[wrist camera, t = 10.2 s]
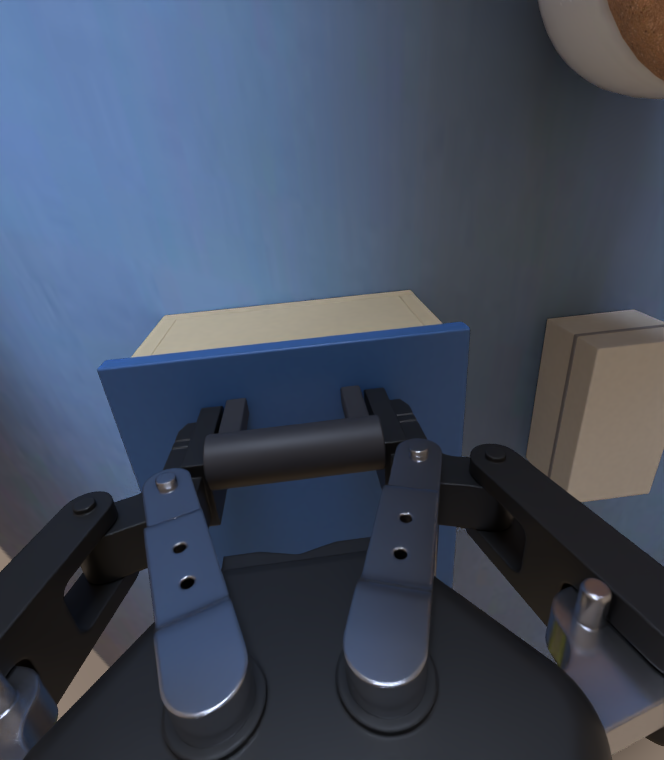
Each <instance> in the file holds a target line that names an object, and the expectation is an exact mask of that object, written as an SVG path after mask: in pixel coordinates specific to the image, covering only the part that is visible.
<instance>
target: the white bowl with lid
mask: <svg viewBox="0 0 664 760" xmlns="http://www.w3.org/2000/svg"><path fill="white" fill-rule="evenodd" d="M538 3H539V9H540V13H541V16H542V19H543V22H544V26H545V29H546V32H547V34H548V36H549V38H550V40H551V42H552V44H553V46H554V47H555V49H556V51H557V52H558V54H559V55H560V56H561V58H562V59H563V60H564V61H565V63H566V64H567V65H568V66H569V67H570V68H571V69H572V70H574V71H575V72H576V73H577V74H578V75H580V76H581V77H582V78H584V79H585V80H586V81H588V82H590V83H592V84H594V85H595V86H597V87H599V88H601V89H603V90H606V91H609V92H613V93H617V94H620V95H625V96H629V97H634V98H646V99H664V0H538Z"/></svg>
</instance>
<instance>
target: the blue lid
mask: <svg viewBox="0 0 664 760" xmlns="http://www.w3.org/2000/svg"><path fill="white" fill-rule="evenodd" d="M469 341H470V328H469V327H468V326H467V325H466V324H464V323H463V322H454V323H445V324H436V325H426V326H417V327H408V328H399V329H390V330H381V331H371V332H362V333H353V334H344V335H335V336H325V337H316V338H307V339H298V340H289V341H279V342H270V343H261V344H252V345H243V346H233V347H224V348H215V349H206V350H197V351H187V352H178V353H169V354H160V355H151V356H141V357H132V358H123V359H114V360H106V361H104V362H103V364H102V365H101V366H100V367H99V368H98V369H97V372H98V374H99V377H100V380H101V383H102V385H103V388H104V391H105V394H106V396H107V399H108V402H109V405H110V407H111V410H112V413H113V416H114V419H115V421H116V424H117V427H118V430H119V432H120V435H121V438H122V441H123V443H124V446H125V449H126V452H127V455H128V457H129V460H130V463H131V466H132V468H133V471H134V474H135V477H136V479H137V482H138V485H139V488H140V491H141V493H142V487H143V484H144V483H145V481H146V480H147V479H148V478H150V477H151V476H152V475H154V474H156V473H158V472H160V471H162V470H163V468H164V466H165V464H166V461H167V459H168V456H169V454H170V452H171V450H172V447H173V444H174V443H175V439H176V437H177V435H178V432H179V431H180V430H181V429H182V428H183V427H184V426H185V425H187V424H188V423H195V422H197V419H198V416H199V413H200V411H201V409H202V408H207V407H216V406H223V407H224V413H223V417H222V420H221V424H220V428H219V432H218V433H217V434H209V435H207V436H206V438H205V441H204V445H203V468H204V474H205V479H206V482H207V485H208V487H209V488H210V490H222V489H227V493H226V499H225V504H224V510H223V515H222V520H221V525H218V526H210V527H209V533H210V536H211V539H212V542H213V545H214V548H215V552H216V555H217V558H218V561H219V564H220V567H221V569H222V564H223V558H224V556H231V555H239V554H246V553H254V552H272V553H285V554H301V553H304V552H307V551H310V550H313V549H316V548H318V547H321V546H324V545H327V544H330V543H333V542H336V541H343V540H351V539H358V538H366V537H371V534H372V530H373V525H374V521H375V517H376V513H377V509H378V505H379V500H380V496H381V492H382V489H381V486H380V482H379V479H378V476H377V472H376V470H383V469H385V466H386V448H385V440H384V434H383V429H382V425H381V421H380V419H379V417H378V415H369V413H368V410H367V407H366V404H365V401H364V395H363V393H364V390H366V389H374V388H384V389H385V391H386V393H387V395H388V397H389V399H390V400H394V399H401V400H402V401H404V402H405V403H407V404H408V405H409V406H410V408H411V410H412V412H413V414H414V415H415V417H416V419H417V421H418V423H419V425H420V427H421V428H422V430H423V432H424V434H425V436H426V438H427V440H430V441H432V442H435V443H436V444H437V445H439V446H440V448H441V450H442V453H443V454H446V455H450V456H457V457H461V456H462V441H463V427H464V413H465V398H466V384H467V369H468V355H469ZM456 528H457V527H453V526H445V525H439V538H438V554H437V571H436V578H438V579H439V580H440V581H442V582H443V583H445V584H446V585H447V586H449V587H450V588H452V585H453V571H454V556H455V542H456Z"/></svg>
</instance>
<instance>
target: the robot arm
mask: <svg viewBox="0 0 664 760" xmlns="http://www.w3.org/2000/svg"><path fill="white" fill-rule="evenodd" d="M363 395H364V401H365V404H366V407H367V410H368V413H369V415H378V417H379V419H380V421H381V425H382V429H383V434H384V440H385V448H386V466H385V469H383V470H376V472H377V476H378V479H379V482H380V486H381V489H382V492H381V496H380V500H379V505H378V509H377V513H376V517H375V521H374V525H373V530H372V534H371V537H366V538H358V539H351V540H343V541H336V542H333V543H330V544H327V545H324V546H321V547H318V548H316V549H313V550H310V551H307V552H304V553H301V554H285V553H272V552H254V553H246V554H239V555H231V556H224V558H223V564H222V569H221V567H220V564H219V561H218V558H217V555H216V552H215V548H214V545H213V542H212V539H211V536H210V533H209V527H210V526H218V525H221V520H222V515H223V510H224V504H225V499H226V493H227V489H222V490H210V488H209V487H208V485H207V482H206V479H205V474H204V468H203V445H204V441H205V438H206V436H207V435H209V434H217V433H218V432H219V428H220V424H221V420H222V417H223V413H224V407H223V406H216V407H207V408H202V409H201V411H200V413H199V416H198V419H197V422H195V423H188V424H187V425H185V426H184V427H183V428H182V429H181V430H180V431H179V432H178V435H177V437H176V439H175V443H174V444H173V447H172V450H171V452H170V454H169V456H168V459H167V461H166V464H165V466H164V468H163V470H162V471H160V472H158V473H156V474H154V475H152V476H151V477H150V478H148V479H147V480H146V481H145V483H144V484H143V487H142V493H140V494H138V495H135V496H133V497H130V498H127V499H124V500H121V501H118V502H114V501H113V498H112V496H111V495H110V494H109V493H107V492H101V491H99V492H91V493H87V494H84V495H82V496H79V497H77V498H75V499H74V500H72V501H70V502H69V503H68V504H66V505H65V506H64V507H63V508H62V509H61V510H60V511H59V512H58V513H57V514H56V515H55V516H54V517H53V518H52V519H51V520H50V521H49V523H48V524H47V525H46V526H45V527H44V528H43V529H42V530H41V531H40V532H39V533H38V534H37V535H36V536H35V537H34V538H33V539H32V540H31V541H30V542H29V543H28V544H27V545H26V546H25V547H24V548H23V549H22V550H21V551H20V552H19V553H18V554H17V555H16V556H15V557H14V558H13V559H12V561H11V562H10V563H9V564H8V565H7V566H6V567H5V568H4V569H3V570H2V571H1V572H0V760H612V755H614V754H615V753H617V752H619V751H621V750H623V749H624V748H626V747H628V746H630V745H632V744H633V743H635V742H637V741H639V740H641V739H642V738H644V737H646V738H647V739H649V740H650V741H652V742H654V743H656V744H659V745H661V746H664V567H663V566H662V565H661V564H660V563H658V562H657V561H656V560H654V559H653V558H652V557H650V556H649V555H648V554H647V553H645V552H644V551H643V550H641V549H640V548H639V547H638V546H636V545H635V544H634V543H632V542H631V541H630V540H629V539H627V538H626V537H625V536H623V535H622V534H621V533H620V532H618V531H617V530H616V529H614V528H613V527H612V526H611V525H609V524H608V523H607V522H605V521H604V520H603V519H602V518H600V517H599V516H598V515H596V514H595V513H594V512H593V511H591V510H590V509H589V508H587V507H586V506H585V505H583V504H582V503H581V502H580V501H578V500H577V499H576V498H574V497H573V496H572V495H571V494H569V493H568V492H567V491H565V490H564V489H563V488H562V487H560V486H559V485H558V484H556V483H555V482H554V481H553V480H551V479H550V478H549V477H547V476H546V475H545V474H544V473H542V472H541V471H540V470H538V469H537V468H536V467H535V466H533V465H532V464H531V463H529V462H528V461H527V460H525V459H524V458H523V457H522V456H520V455H519V454H518V453H516V452H515V451H514V450H512V449H510V448H508V447H506V446H503V445H498V444H483V445H479V446H477V447H475V448H474V449H473V450H472V451H471V454H470V458H469V457H457V456H450V455H446V454H443V453H442V450H441V448H440V446H439V445H437V444H436V443H435V442H432V441H430V440H427V438H426V436H425V434H424V432H423V430H422V428H421V427H420V425H419V423H418V421H417V419H416V417H415V415H414V414H413V412H412V410H411V408H410V406H409V405H408V404H407V403H405V402H404V401H402V400H401V399H394V400H390V399H389V397H388V395H387V393H386V391H385V389H384V388H374V389H366V390H364V393H363ZM439 525H445V526H453V527H461V528H466V531H467V533H468V534H469V535H470V537H471V538H472V539H473V540H474V541H475V543H476V544H477V545H478V546H479V547H480V548H481V550H482V551H483V552H484V553H485V554H486V555H487V557H488V558H489V559H490V560H491V561H492V563H493V564H494V565H495V566H496V567H497V568H498V570H499V571H500V572H501V573H502V574H503V575H504V577H505V578H506V579H507V580H508V581H509V583H510V584H511V585H512V586H513V587H514V588H515V590H516V591H517V592H518V593H519V594H520V595H521V597H522V598H523V599H524V600H525V601H526V603H527V604H528V605H529V606H530V607H531V608H532V610H533V611H534V612H535V613H536V614H537V615H538V617H539V618H540V619H541V620H542V621H543V623H544V624H545V625H546V626H547V629H546V636H545V638H546V644H547V647H548V650H549V652H550V653H551V655H552V657H553V658H554V660H555V661H556V663H557V665H556V664H555V663H554V662H552V661H551V660H550V659H548V658H547V657H545V656H544V655H543V654H541V653H540V652H539V651H537V650H536V649H534V648H533V647H532V646H530V645H529V644H528V643H526V642H525V641H523V640H522V639H521V638H519V637H518V636H516V635H515V634H514V633H512V632H511V631H510V630H508V629H507V628H505V627H504V626H503V625H501V624H500V623H498V622H497V621H496V620H494V619H493V618H492V617H490V616H489V615H487V614H486V613H485V612H483V611H482V610H481V609H479V608H478V607H476V606H475V605H474V604H472V603H471V602H469V601H468V600H467V599H465V598H464V597H463V596H461V595H460V594H458V593H457V592H456V591H454V590H453V589H452V588H450V587H449V586H447V585H446V584H445V583H443V582H442V581H440V580H439V579H438V578H436V571H437V554H438V538H439ZM80 566H81V568H82V571H83V573H82V575H81V576H80V577H79V578H78V580H77V581H76V582H75V584H74V585H73V586H72V588H71V589H70V590H69V591H68V593H67V594H66V595H65V597H64V590H65V587H66V585H67V583H68V581H69V579H70V578H71V577H72V576H73V574H74V573H75V572H76V571H77V569H78V568H79V567H80ZM146 568H148V573H149V581H150V589H151V598H152V606H153V614H154V623H153V624H152V625H151V626H150V627H149V628H148V629H147V630H146V631H145V632H144V633H143V634H142V635H141V636H140V637H139V638H138V639H137V640H136V641H135V642H134V643H133V644H132V645H131V646H130V647H129V649H128V650H127V651H126V652H125V653H124V654H123V655H122V656H121V657H120V658H119V659H118V660H117V661H116V662H115V663H114V664H113V665H112V666H111V667H110V668H109V669H108V670H107V671H106V672H105V673H104V674H103V675H102V676H101V677H100V679H98V680H97V681H96V683H94V684H93V686H91V687H90V689H89V690H88V691H87V692H86V693H85V694H84V695H83V696H82V697H81V698H80V699H79V700H78V701H77V702H76V703H75V704H74V705H73V706H72V707H71V708H70V709H69V710H68V711H67V712H66V713H65V714H64V715H63V716H62V717H61V718H60V719H59V720H58V721H57V718H58V708H57V704H58V702H59V701H60V699H61V698H62V696H63V694H64V693H65V691H66V690H67V688H68V686H69V685H70V683H71V682H72V680H73V679H74V677H75V675H76V674H77V672H78V671H79V669H80V667H81V666H82V664H83V663H84V661H85V659H86V658H87V656H88V655H89V653H90V651H91V650H92V648H93V647H94V645H95V644H96V642H97V640H98V639H99V637H100V636H101V634H102V632H103V631H104V629H105V628H106V626H107V624H108V623H109V621H110V620H111V618H112V617H113V615H114V613H115V612H116V610H117V609H118V607H119V605H120V604H121V602H122V601H123V599H124V597H125V596H126V594H127V593H128V591H129V589H130V588H131V586H132V585H133V583H134V582H135V580H136V578H137V576H138V574H139V571H141V570H143V569H146Z"/></svg>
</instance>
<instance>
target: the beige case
mask: <svg viewBox="0 0 664 760" xmlns="http://www.w3.org/2000/svg"><path fill="white" fill-rule="evenodd" d="M663 449H664V322H663V321H660V320H658V319H655V318H653V317H651V316H648V315H646V314H643V313H641V312H639V311H636V310H634V309H633V310H623V311H614V312H605V313H596V314H587V315H578V316H569V317H560V318H550V319H547V325H546V331H545V338H544V344H543V350H542V357H541V363H540V370H539V376H538V383H537V389H536V396H535V402H534V408H533V415H532V421H531V428H530V434H529V441H528V447H527V453H526V458H527V459H528V460H529V462H530V463H531V464H532V465H533V466H535V467H536V468H537V469H538V470H540V471H541V472H542V473H544V474H545V475H546V476H547V477H549V478H550V479H551V480H553V481H554V482H555V483H556V484H558V485H559V486H560V487H562V488H563V489H564V490H565V491H567V492H568V493H569V494H571V495H572V496H573V497H574V498H576V499H577V500H578V501H580V502H586V501H594V500H601V499H609V498H617V497H624V496H632V495H639V494H647V493H649V492H650V489H651V486H652V483H653V480H654V477H655V474H656V471H657V468H658V464H659V461H660V458H661V455H662V452H663Z"/></svg>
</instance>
